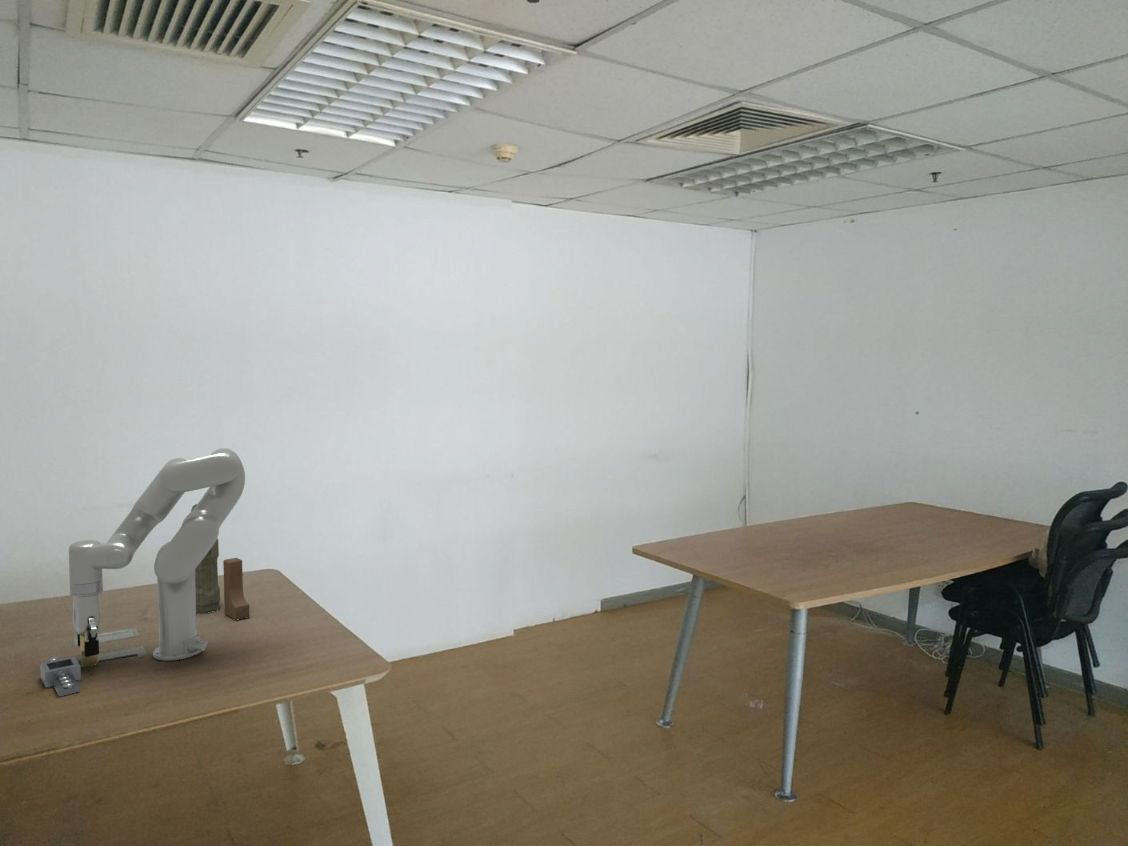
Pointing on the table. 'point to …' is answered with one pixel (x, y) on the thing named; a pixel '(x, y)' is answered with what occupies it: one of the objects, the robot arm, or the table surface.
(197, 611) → the thermos
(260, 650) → the table surface
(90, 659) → the pin
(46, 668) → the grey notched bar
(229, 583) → the wooden block
